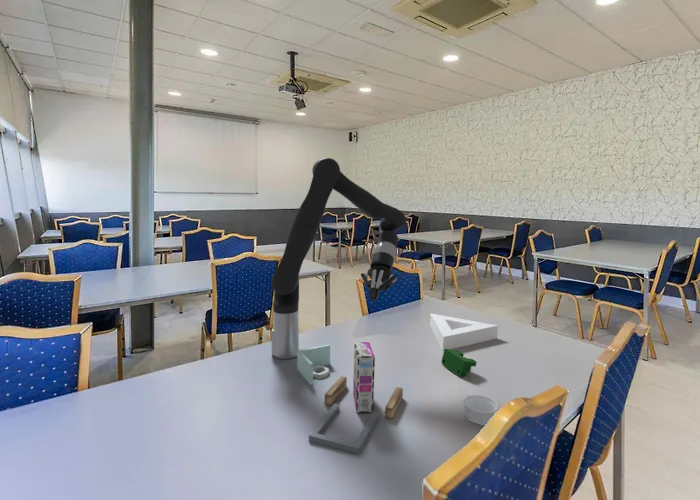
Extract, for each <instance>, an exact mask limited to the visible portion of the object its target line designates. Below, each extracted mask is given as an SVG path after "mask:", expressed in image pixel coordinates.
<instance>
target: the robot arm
mask: <svg viewBox="0 0 700 500" xmlns="http://www.w3.org/2000/svg"><path fill="white" fill-rule="evenodd" d="M311 171H312V178H311V183H310V184H309V189H308V191H307V193H306V195H305V198H304V200H303V201H302V203H301V205H300V206H299V208H298V211H296V212H297V213H296V214H295V216H294V219H293V222H292V224H291V228H290V229H289V230H290V231H289V234H288V237H287V239H286V240H287V241H286V245H285V248H284V252H283V255H282V258H281V259H280V262H279V264H278V266H277V268H276V270H275V271H274V273H273V275H272V276H271V277H272V278H271V286H272V289H273V291H274V292H273V293H274V295H273V304H272V308H273V310H272V313H273V315H272V316H273V318H272V319H273V329H272V330H271V335H270V337H271V356H274V357H275V358H277V359H280V360H289V359H293V358H297V350H300V348H299V347H300V346H299V344H300V340H299V339H300V337H299V336H300V335H299V333H300V332H299V331H300V328H299V326H300V325H299V321H300V320H299V303H300V277H299V276H300V271H301V269H302V265H303V263H304V260H305V258H306V256H307V254H308V253H309V251H310V249H311V247H312V245H313V243H314V241H315V239H316V236H317V234H318V231H319V229H320V226H321V222H322V221H323V216H324V213H325V210H326V206H327V203H328V201H329V198H330V196H331V194H332V192H333V191H335V192H336V193H338V194H340V195H341V196H342V197H344V198H345V199H346V200H348V201H349V202H351V203H352V205H354V206H355V207H356V208H357V209H359V210H360V211H361V212H363V213H364V214H366V215H367V216H368V217H369V218H371V219H373V220H376V219H380V218H381V220H380V222H379V224H378V240H377V243H376V247H375V249H374V250H373V251H374V252H373V256H372V259H371V263H370V267H369V269H368V270H367V272H365V273H364V272H362V273H360V276H361V278H362V280H363V283H364V284H365V286H366V288H367V289H368V290H369V294H368V297H369V300H370V301H371V302H377V300H378V299H379V297H380V292H382V291H383V292H386V291H387V290H388V289H389V288H391V287H392V286H393V285H395V284H396V283H397V281H398V279H397V277H396V275H393V273H392V270H393V267H394V264H395V263H394V262H395V259H396V252H397V247H398V242H399V236H398V234H397V232H398V231H399V230H400V229H402V228H404V227H405V225H406V223H407V217H406V215H405V214H404V213H403V211H401V210H400V209H398V208H396V207H394V206H391V205H389V204H387V203H385V202H382V201H381V200H379V199H378V198H377V197H376V196H374V195H373V194H372V193H371V192H369V191H368V190H366V189H364V188H363V187H361V186H360V185H358V184H357V183H355V182H354V181H352V180H351V179H350V178H349V177H347V176H346V175H345V174H344V172H342V171H341V168H340V165H339V163H338V161H336V160H335V159H333V158H332V157H323V158H320V159H318V160H317V161H316V162H314V164H313V167H312V170H311ZM369 278H370V280H371V283H370V282H369Z"/></svg>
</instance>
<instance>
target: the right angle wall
mask: <svg viewBox="0 0 700 500" xmlns="http://www.w3.org/2000/svg"><path fill="white" fill-rule="evenodd" d="M296 363H297V364H296V365H297V366H296V368H297V371H298V372H299V373H300V375H302V377H303V379H305V380H306V382H307V383H308V384H309V385H310V386H311V385H313V384H314V381H313V380H314V378H315V379H320V380H322V379H323V378H324V379H326V378H327V377H328V376H329V375H330V369H329V367H327V365H331V345H330V344H324V345H319V346H314V347H309V348H303V349H299V350H297V356H296Z"/></svg>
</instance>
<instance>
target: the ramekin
mask: <svg viewBox="0 0 700 500" xmlns="http://www.w3.org/2000/svg"><path fill="white" fill-rule="evenodd" d="M463 405H464V415H465V418H466V420H468V421H469V422H470V421H471V422H470V423H472V422H473V423H472V424H474V423H476V424H475V425H477V424H479V425H478V426H483V427H484V426H485V424H487V422H488V421H489V419H490V418H491V417H492V416H493V415H494V413H495V412H496V411H497V410H499V404H498V403H497V402H496V400H494V399H493V398H491V397H489V396H486V395H482V394H472V395H467V396H466V397H465V398H463ZM497 412H498V411H497ZM485 427H486V426H485Z"/></svg>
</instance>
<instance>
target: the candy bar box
mask: <svg viewBox="0 0 700 500" xmlns="http://www.w3.org/2000/svg"><path fill="white" fill-rule="evenodd" d="M353 343H354V344H353V347H354V348H353V377H352V378H353V380H352V383H353V384H352V386H353V387H352V395H353V400H354V405H355V406H354V407H355V410H356V411H355V412H356V414H363V413H364V414H366V413H367V414H368V413H369V414H373V412H374V397H375V396H374V394H375V393H374V392H375V369H376V368H375V366H376V365H375V364H376V363H375V361H376V356H375V354H374V351H373V349H372V346H371V345H372V344H371V342H369V341H368V342H367V341H366V342H365V341H364V342H360V341H359V342H358V341H357V342H355V341H354V342H353Z"/></svg>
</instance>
